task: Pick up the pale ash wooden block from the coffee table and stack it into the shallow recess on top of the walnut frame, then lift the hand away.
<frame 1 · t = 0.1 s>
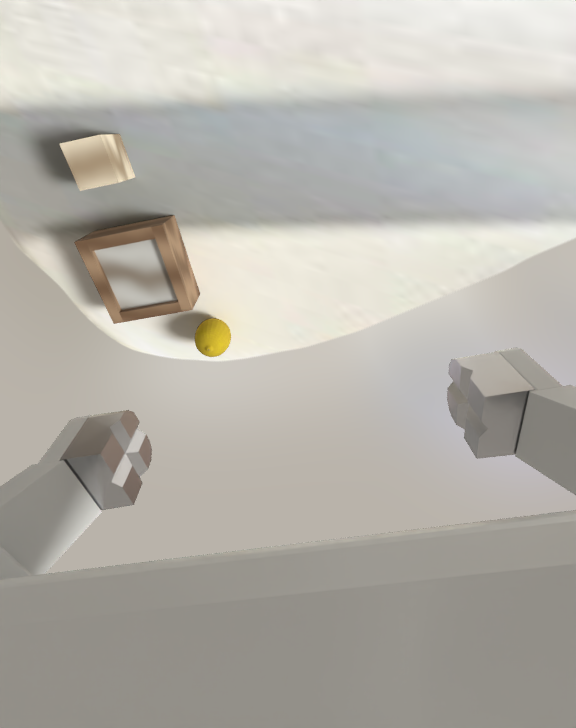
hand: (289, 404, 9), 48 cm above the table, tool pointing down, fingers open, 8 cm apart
lemon: (216, 325, 61), on the table
ash block: (109, 160, 48), on the table
walnut frame: (149, 263, 55), on the table
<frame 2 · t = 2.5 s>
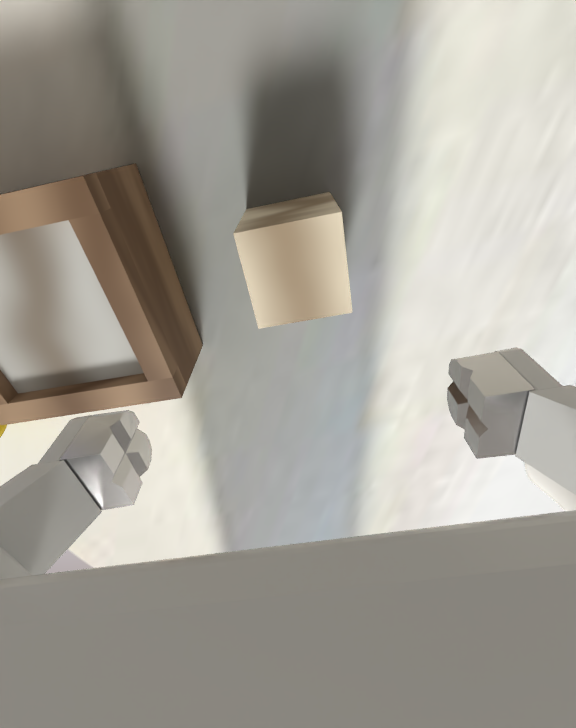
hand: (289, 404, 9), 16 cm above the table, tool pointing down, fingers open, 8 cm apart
ash block: (295, 242, 23), on the table
walnut frame: (88, 283, 24), on the table
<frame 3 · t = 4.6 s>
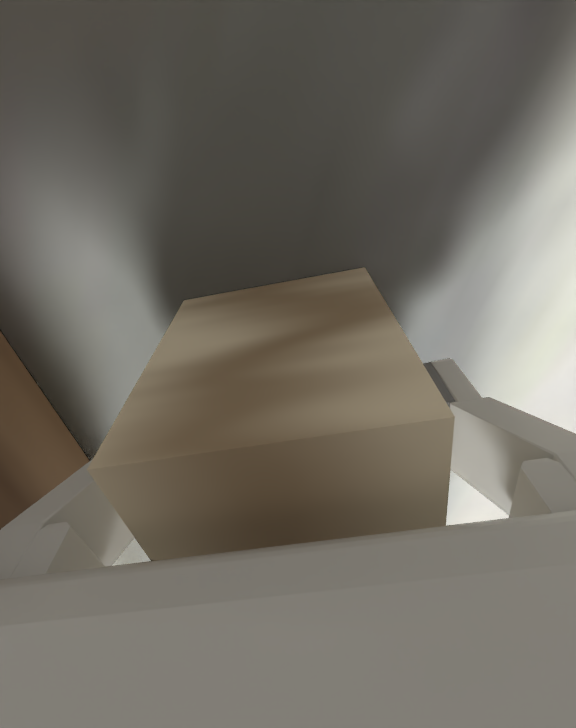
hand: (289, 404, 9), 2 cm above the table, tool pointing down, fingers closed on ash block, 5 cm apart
ash block: (288, 360, 11), on the table, touching gripper
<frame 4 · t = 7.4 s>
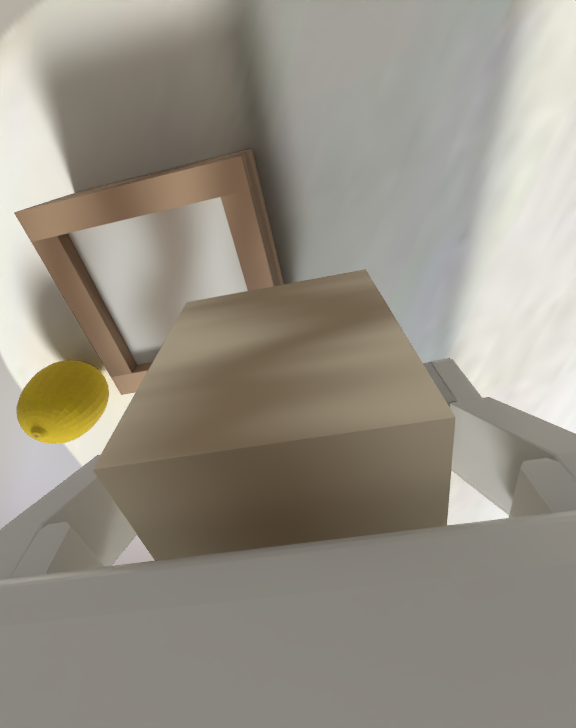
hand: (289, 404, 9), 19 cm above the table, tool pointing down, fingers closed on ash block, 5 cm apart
lemon: (91, 368, 32), on the table
ash block: (290, 362, 11), point 16 cm above the table, touching gripper
walnut frame: (193, 263, 26), on the table
when the fingers open (9 cm above the table, at t = 10.5 s): ash block drops 2 cm, resting on walnut frame.
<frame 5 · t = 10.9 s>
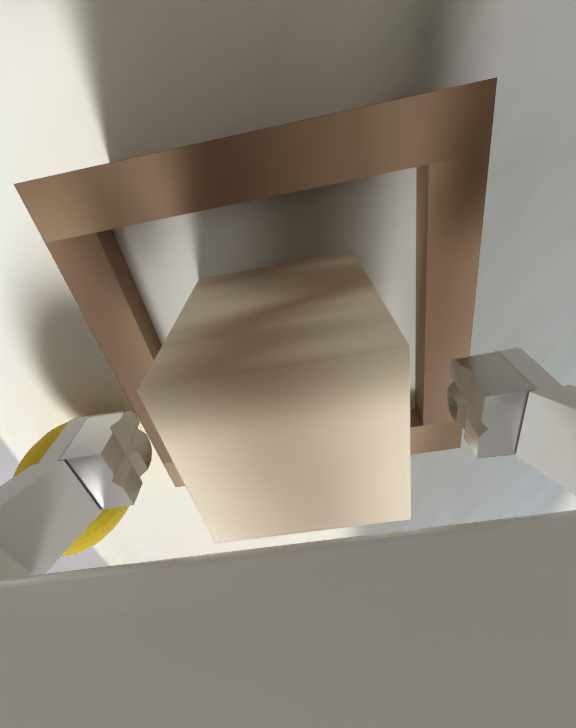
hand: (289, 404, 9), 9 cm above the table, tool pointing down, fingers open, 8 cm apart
lemon: (112, 423, 22), on the table
ash block: (288, 333, 13), point 5 cm above the table, touching walnut frame
walnut frame: (285, 280, 17), on the table
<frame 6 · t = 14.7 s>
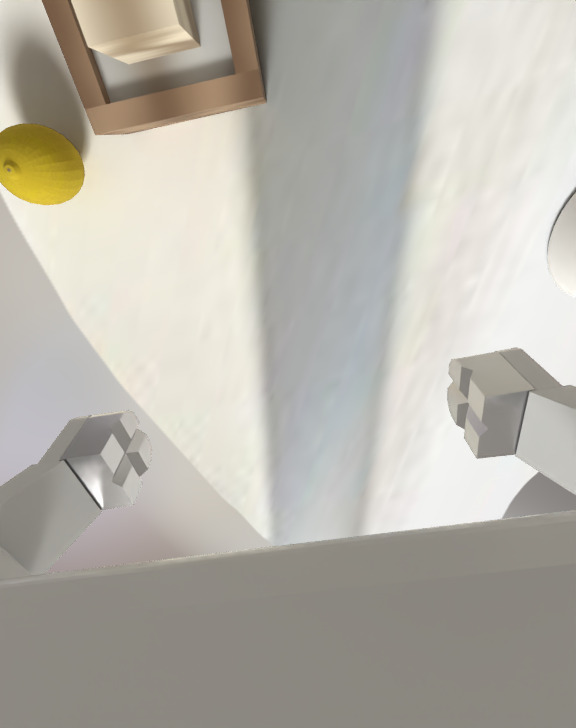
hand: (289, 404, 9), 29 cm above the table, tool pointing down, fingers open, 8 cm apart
lemon: (67, 162, 32), on the table
ash block: (149, 4, 23), point 5 cm above the table, touching walnut frame
walnut frame: (170, 22, 27), on the table
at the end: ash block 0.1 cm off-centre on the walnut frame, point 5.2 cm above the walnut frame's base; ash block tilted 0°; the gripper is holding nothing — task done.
